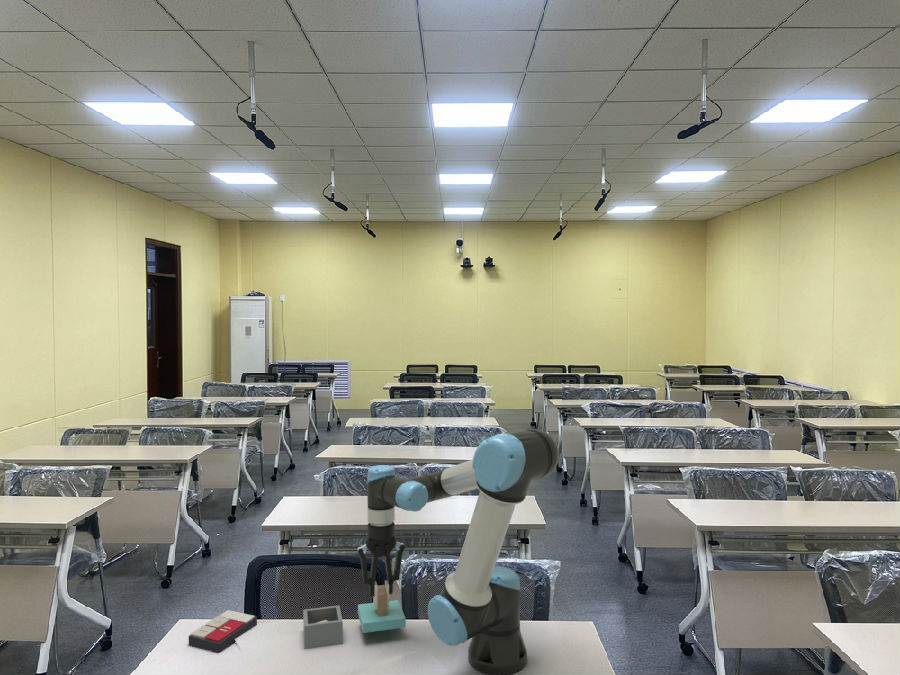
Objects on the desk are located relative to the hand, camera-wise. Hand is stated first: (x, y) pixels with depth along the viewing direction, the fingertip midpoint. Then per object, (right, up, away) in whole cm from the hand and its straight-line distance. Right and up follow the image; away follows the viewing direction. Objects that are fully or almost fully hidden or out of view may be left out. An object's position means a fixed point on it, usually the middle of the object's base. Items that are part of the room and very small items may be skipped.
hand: (381, 606), depth 168 cm
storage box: (-16, -9, -2) cm, 18 cm away
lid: (0, -4, 0) cm, 4 cm away
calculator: (-44, -9, +1) cm, 45 cm away
